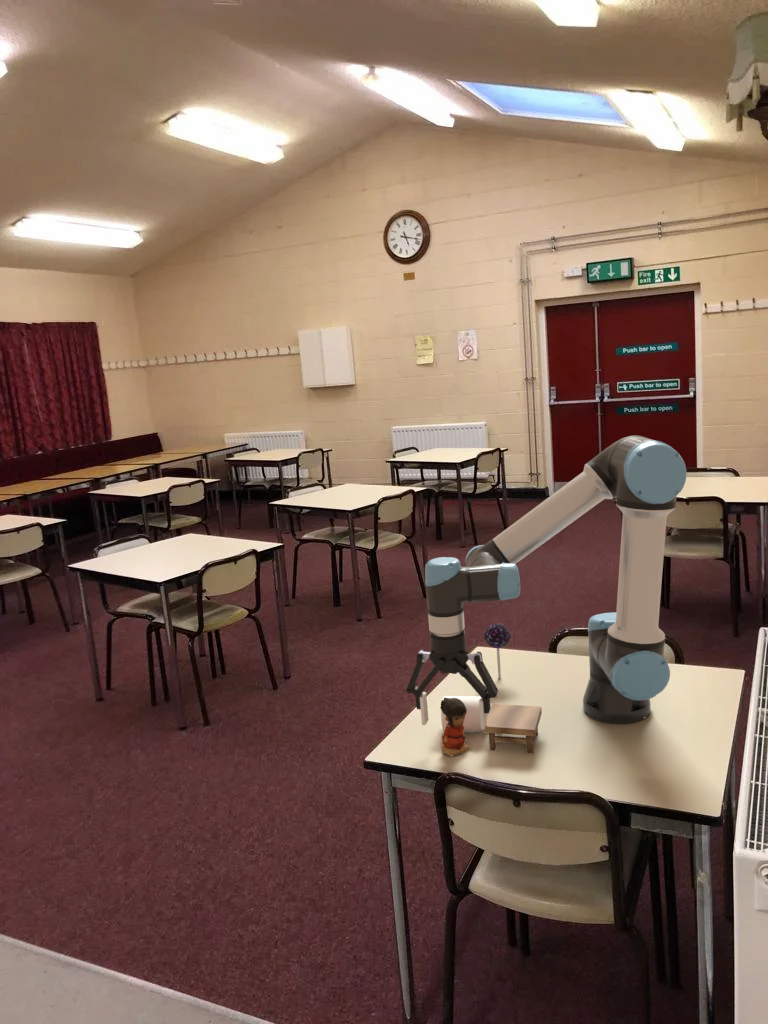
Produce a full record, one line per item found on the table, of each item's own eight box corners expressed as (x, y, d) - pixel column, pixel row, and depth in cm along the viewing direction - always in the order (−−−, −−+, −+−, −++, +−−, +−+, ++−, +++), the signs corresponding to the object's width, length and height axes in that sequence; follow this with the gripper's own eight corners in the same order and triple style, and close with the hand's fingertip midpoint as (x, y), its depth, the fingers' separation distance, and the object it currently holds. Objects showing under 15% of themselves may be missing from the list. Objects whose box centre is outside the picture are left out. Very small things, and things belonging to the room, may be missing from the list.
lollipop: (486, 672, 212) (483, 619, 209) (512, 672, 211) (509, 618, 208) (486, 683, 205) (483, 628, 202) (513, 683, 204) (510, 628, 201)
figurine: (437, 755, 172) (433, 703, 169) (445, 742, 177) (441, 692, 174) (465, 758, 169) (461, 706, 167) (472, 745, 174) (469, 695, 172)
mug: (486, 739, 177) (484, 706, 175) (442, 738, 179) (440, 705, 177) (490, 714, 188) (488, 683, 187) (448, 713, 190) (446, 682, 189)
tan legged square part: (542, 731, 178) (541, 706, 177) (536, 756, 168) (534, 729, 167) (493, 727, 181) (492, 703, 180) (484, 751, 171) (483, 726, 170)
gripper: (507, 626, 167) (513, 720, 171) (397, 623, 175) (405, 712, 179) (501, 639, 160) (507, 736, 164) (386, 635, 168) (395, 728, 172)
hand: (454, 724), depth 172 cm, fingers open, 12 cm apart
